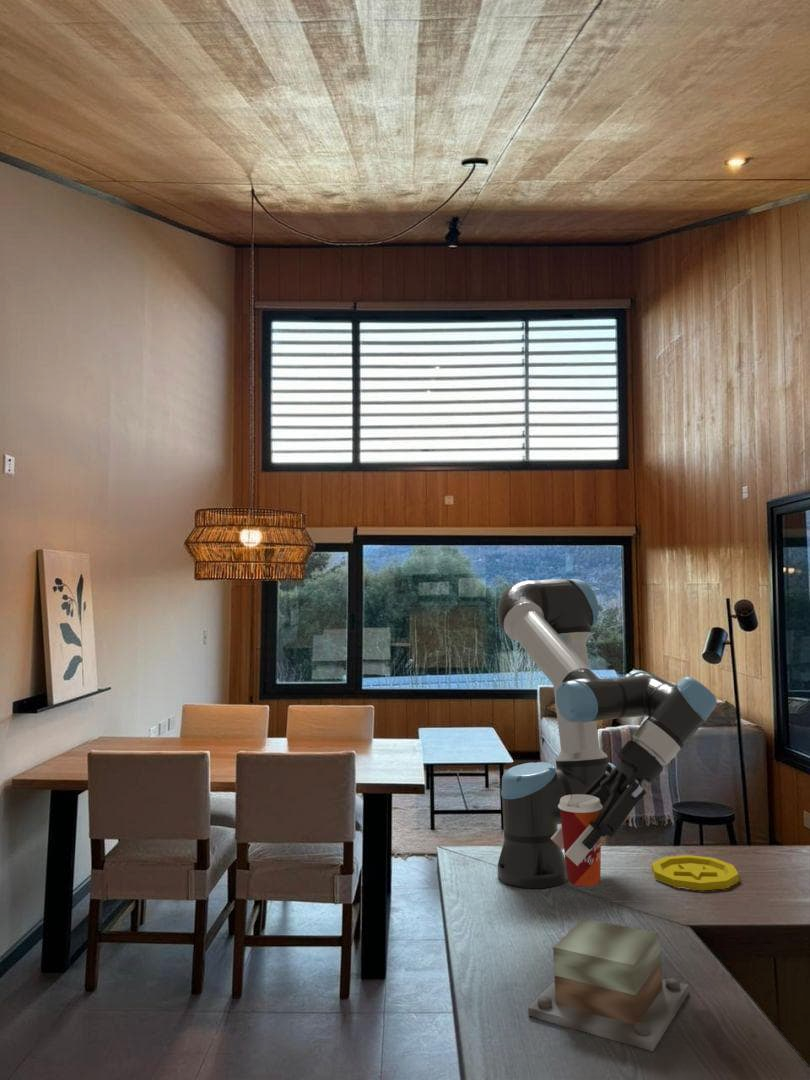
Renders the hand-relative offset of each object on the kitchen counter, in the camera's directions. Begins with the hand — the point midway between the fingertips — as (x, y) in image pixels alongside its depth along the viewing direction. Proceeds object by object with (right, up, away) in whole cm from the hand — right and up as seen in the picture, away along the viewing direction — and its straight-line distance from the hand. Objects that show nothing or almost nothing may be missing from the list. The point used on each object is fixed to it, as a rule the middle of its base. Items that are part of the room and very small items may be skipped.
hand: (563, 851), depth 139 cm
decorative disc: (+34, -18, +30) cm, 49 cm away
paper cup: (+4, -5, 0) cm, 6 cm away
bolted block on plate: (+3, -14, -21) cm, 26 cm away
